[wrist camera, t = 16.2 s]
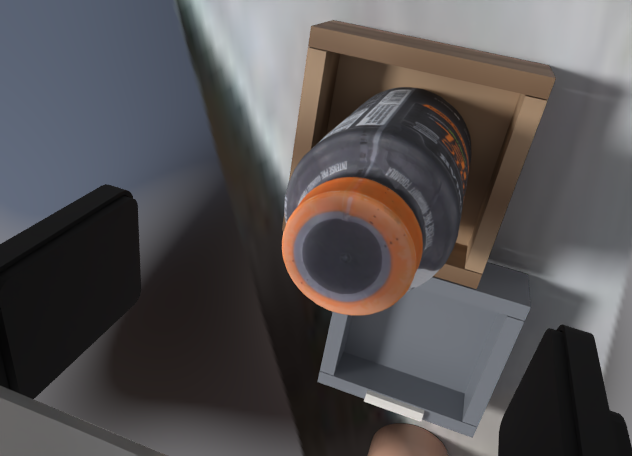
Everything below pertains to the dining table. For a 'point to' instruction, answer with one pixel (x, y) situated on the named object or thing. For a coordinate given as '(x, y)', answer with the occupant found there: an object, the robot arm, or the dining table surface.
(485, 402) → the gray square open tray
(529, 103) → the brown wooden open tray
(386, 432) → the peach rounded capsule
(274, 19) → the dining table surface
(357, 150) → the pill bottle
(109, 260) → the robot arm
